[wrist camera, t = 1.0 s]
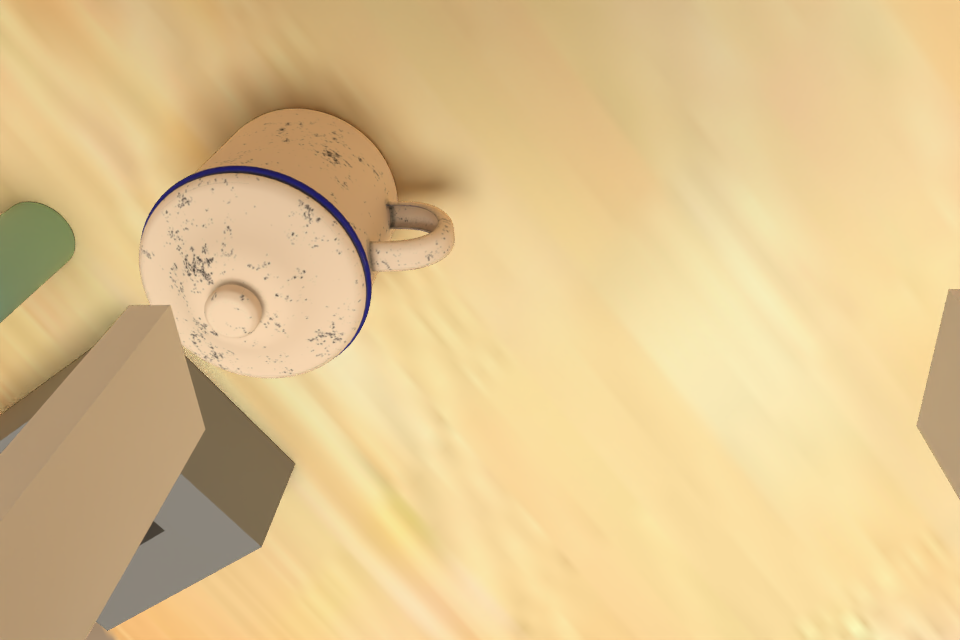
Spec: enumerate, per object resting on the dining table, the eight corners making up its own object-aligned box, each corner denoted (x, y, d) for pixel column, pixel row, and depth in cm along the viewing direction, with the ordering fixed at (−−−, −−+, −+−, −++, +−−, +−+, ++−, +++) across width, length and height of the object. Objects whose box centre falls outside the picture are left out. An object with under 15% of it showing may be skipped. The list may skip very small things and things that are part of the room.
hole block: (0, 414, 49) (-71, 491, 44) (140, 312, 45) (81, 383, 39) (154, 545, 54) (107, 630, 48) (295, 463, 49) (261, 546, 44)
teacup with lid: (236, 283, 44) (141, 422, 34) (194, 105, 39) (68, 205, 29) (472, 276, 42) (446, 419, 32) (457, 92, 38) (420, 191, 28)
